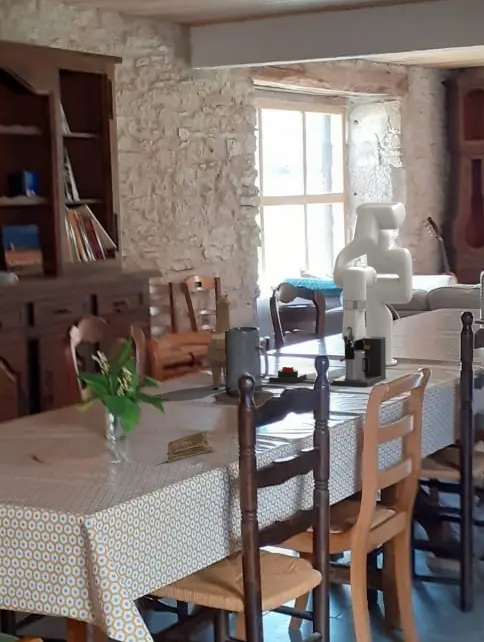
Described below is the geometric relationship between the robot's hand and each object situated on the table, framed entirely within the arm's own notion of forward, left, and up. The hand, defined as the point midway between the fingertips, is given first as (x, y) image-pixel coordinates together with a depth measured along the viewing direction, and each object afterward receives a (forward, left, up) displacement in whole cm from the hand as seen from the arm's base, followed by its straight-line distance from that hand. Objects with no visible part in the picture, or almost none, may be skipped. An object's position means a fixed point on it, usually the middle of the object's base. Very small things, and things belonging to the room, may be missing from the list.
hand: (354, 357), depth 384 cm
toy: (+21, -38, -9) cm, 44 cm away
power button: (+2, -23, -6) cm, 24 cm away
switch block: (+2, -23, -9) cm, 25 cm away
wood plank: (+115, -2, -9) cm, 115 cm away
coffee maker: (-5, 0, -9) cm, 10 cm away
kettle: (0, 0, -7) cm, 7 cm away
